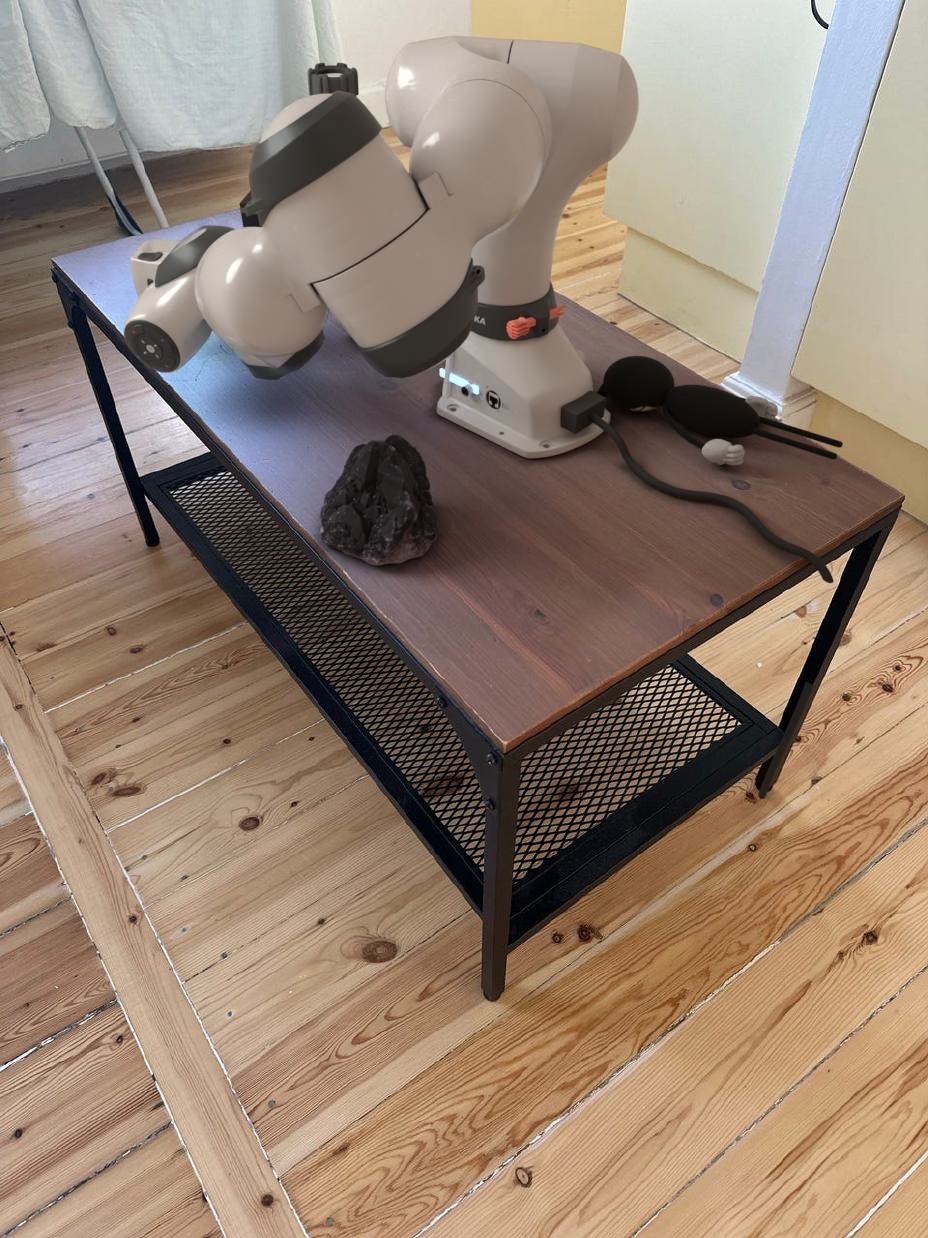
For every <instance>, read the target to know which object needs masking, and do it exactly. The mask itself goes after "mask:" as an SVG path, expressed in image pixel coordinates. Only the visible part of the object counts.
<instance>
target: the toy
mask: <svg viewBox="0 0 928 1238" xmlns="http://www.w3.org/2000/svg"><path fill="white" fill-rule="evenodd" d="M595 393H597V394H599V395H601V396H603V397H605V398H606V399H607V398H608V399H610V400H611V401H612V402H613V403H614V404H615V405H616V406H618V407H621V408H622V409H625V410H629V411H633V412H649V411H653V410H656V409H658V408H660V407H661V413H662V416H663V418H664V420H665V422H666V423H667V424H668V426H669V427H670V428H671V429H672V430H673V431H674V432H675V433H676V434H677V435H678V436H680V437H681V438H683V439H684V440H685V441H687V442H688V443H689V444H691V445H693V446H695V447H696V448H698V449H700V450H701V454H702V457H703V458H704V459H705V460H707V461H709V462H710V463H713V464H717V465H718V466H723V465H724V464H726V465H728V466H740V465H742V464H743V463H744V460H743V459H744V458H745V453H746V452H745V449H744V446H743V445H742V444H734V445H733V444H732V443H731V442H730V441H727V440H725V439H742V438H746V437H749V436H752V435H755V436H758V437H762V438H764V439H768V440H771V441H774V442H777V443H780V444H783V445H786V446H789V447H793V448H795V449H799V450H802V451H805V452H808V453H810V454H814V455H817V456H821V457H824V458H827V459H829V460H833V461H834V460H836V459H837V458H838V454H837V453H836V452H834V451H833V452H832V451H829V450H826V449H824V448H821V447H817V446H813V445H811V444H807V443H804V442H801V441H798V440H795V439H792V438H788V437H785V436H782V435H779V434H776V433H773V432H770V431H766V430H764V429H760V426H761V425H765V426H767V427H772V428H774V429H777V430H781V431H784V432H788V433H790V434H794V435H796V436H800V437H803V438H806V439H810V440H812V441H816V442H819V443H822V444H826V445H829V446H832V447H834V448H838V449H840V448H842V447H843V445H844V443H843V442H842V441H841V440H838V439H835V438H831V437H828V436H825V435H822V434H819V433H815V432H812V431H810V430H806V429H802V428H799V427H795V426H793V425H789V424H786V423H783V422H780V421H776V420H775V419H776V418H777V416H778V414H779V413H778V410H779V407H778V406H777V404H776V403H775V402H772V401H770V400H768V399H767V398H765V397H762V396H758V395H757V396H756V395H751V396H749V395H748V397H742V396H737V395H735V394H734V393H730V392H729V391H726V390H723V389H720V388H717V387H713V386H708V385H703V384H702V385H701V384H681V385H676V386H675V379H674V376H673V374H672V372H671V371H670V369H669V368H668V367H667V366H666V365H665V364H664V363H663V362H660V361H659V360H657V359H655V358H652V357H650V356H646V355H645V356H644V355H628V356H625V357H622V358H619V359H617V360H615V361H614V362H613V363H611V364H610V365H609V366H608V367H607V369H606V371H605V372H604V374H603V379H602V384H601V385H600V386H599V387H598V389H597V390H596V392H595ZM676 422H677V423H679V424H681V425H682V426H684V427H686V428H687V429H691V430H692V431H695V432H697V433H699V434H703V435H706V436H710V437H714V439H711V440H708V441H707V442H706V443H704V442H702V441H701V440H699V439H697V438H695V437H694V436H692V435H691V434H689V433H688V432H687V431H685V430H684V429H683V428H681V426H680V425H678V424H677V423H676Z"/></svg>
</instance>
